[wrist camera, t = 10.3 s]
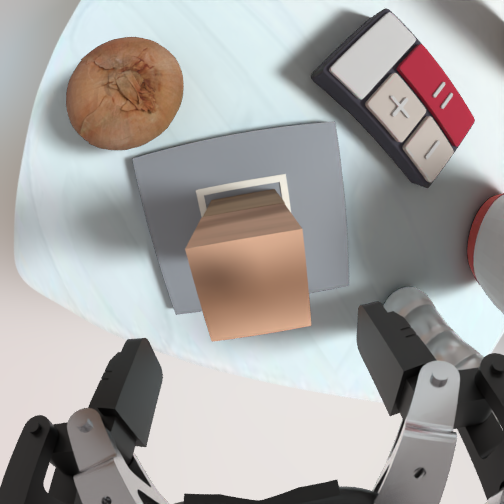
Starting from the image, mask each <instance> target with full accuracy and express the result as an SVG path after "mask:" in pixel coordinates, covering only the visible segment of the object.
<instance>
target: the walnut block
mask: <svg viewBox="0 0 504 504" xmlns="http://www.w3.org/2000/svg"><path fill="white" fill-rule="evenodd" d="M281 203H284V204H285V202H284V201H283V199H282V198H281V197H280V195H279V194H278V193H277V192H276V190H275V189H271V190H265V191H259V192H253V193H247V194H242V195H236V196H231V197H225V198H220V199H215V200H211V202H210V204H209V206H208V208H207V210H206V211H205V213H204V215H203V217H206V216H211V215H217V214H222V213H228V212H233V211H239V210H245V209H250V208H256V207H262V206H268V205H274V204H281Z"/></svg>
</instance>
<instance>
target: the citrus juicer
mask: <svg viewBox="0 0 504 504" xmlns="http://www.w3.org/2000/svg"><path fill="white" fill-rule="evenodd" d="M467 257H468V263H469V266H470V268H471V271H472V273H473V275H474V277H475V279H476V280H477V282H478V283H479V285H481V287H482V288H483V290H484V292H485V293H486V295H487V296H488V297H489V298H490V300H491V301H492V302H493V304H494V305H495V306H496V307H497V308H498V309H499V310H500V311H501V312H502V313H503V314H504V193H503V194H499V195H495V196H493V197H491V198H489V199H488V200H487V201H486V202H485V203H484V204H483V205H482V206H481V208H480V209H479V211H478V213H477V214H476V216H475V219H474V221H473V223H472V227H471V230H470V234H469V238H468V246H467Z"/></svg>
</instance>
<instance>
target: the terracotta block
mask: <svg viewBox="0 0 504 504" xmlns="http://www.w3.org/2000/svg"><path fill="white" fill-rule="evenodd" d="M185 251H186V254H187V258H188V262H189V266H190V269H191V273H192V277H193V280H194V284H195V287H196V291H197V294H198V298H199V301H200V305H201V308H202V311H203V315H204V318H205V321H206V325H207V328H208V331H209V334H210V337H211V340H212V341H220V340H227V339H235V338H242V337H249V336H255V335H262V334H268V333H274V332H280V331H285V330H291V329H296V328H302V327H307V326H311V314H310V301H309V289H308V278H307V267H306V257H305V247H304V238H303V229H302V228H301V226H300V225H299V223H298V222H297V220H296V219H295V218H294V216H293V215H292V214H291V212H290V211H289V209H288V208H287V207H286V205H285V204H284V203H281V204H274V205H268V206H262V207H256V208H250V209H245V210H239V211H233V212H228V213H222V214H217V215H211V216H206V217H202V218H201V219H200V221H199V223H198V225H197V227H196V229H195V231H194V233H193V235H192V237H191V238H190V240H189V242H188V244H187V246H186V248H185Z"/></svg>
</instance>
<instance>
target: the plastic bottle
mask: <svg viewBox="0 0 504 504" xmlns="http://www.w3.org/2000/svg"><path fill="white" fill-rule="evenodd" d="M383 307H384V308H385V310H386V311H387V312H391V311H394V312H396V313H397V314H399V315H401V316H403V317H404V318H405V319H406V321H407V322H408V323H409V324H410V326H411V328H413V329H414V331H415V332H416V335H418V336H419V337H420V339H421V340H422V341H423V342H424V344H425V345H426V346H427V348H428V349H429V350H430V352H431V353H432V355H433V356H434V357H435V359H436V360H437V361H445V362H448V363H450V364H452V365H453V366H455V367H456V369H457V370H464V369H471V368H477V367H479V366H480V363H481V361H482V359H483V358H484V357H483V356H482V355H481V354H480V353H479V352H477V351H476V350H475V349H474V348H472V347H471V346H470V345H469V344H467V343H466V342H465V341H463V340H462V339H461V338H460V337H459V336H458V335H457V334H456V333H455V332H454V331H453V330H452V329H451V328H450V327H449V326H448V324H447V323H446V322H445V320H444V319H443V318H442V316H441V315H440V314H439V312H438V311H437V310H436V308H435V306H434V304H433V302H432V301H431V300H430V298H429V297H428V295H427V294H426V293H424V292H423V291H421V290H419V289H417V288H415V287H404V288H400V289H398V290H396V291H395V292H393V293H392V294H391V295H390V296H389V297H388V299H387V300H386V302H385V303H384V306H383ZM492 412H493V411H492ZM493 414H494V413H493ZM494 416H495V414H494ZM495 417H496V416H495ZM496 419H497V418H496ZM497 421H498V420H497ZM498 423H499V421H498ZM499 424H500V423H499Z"/></svg>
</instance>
